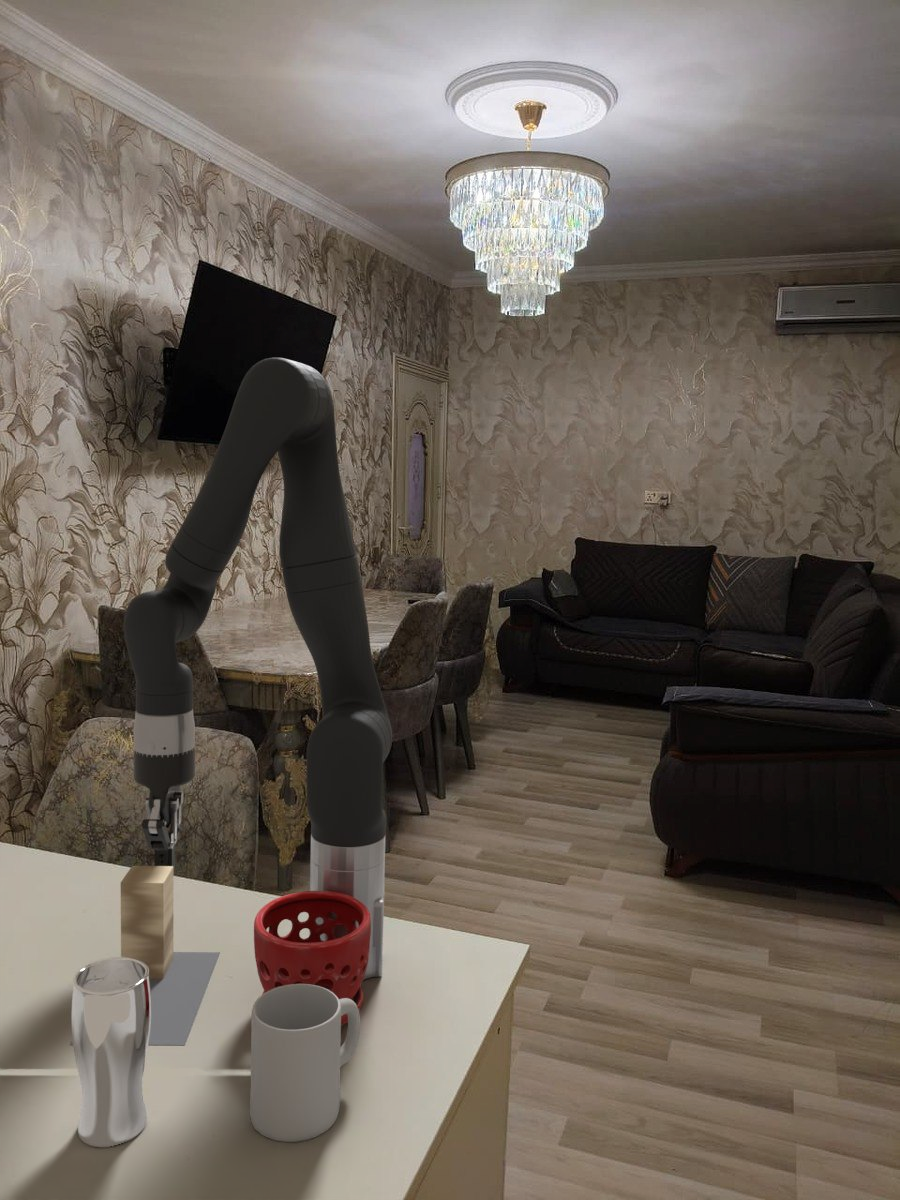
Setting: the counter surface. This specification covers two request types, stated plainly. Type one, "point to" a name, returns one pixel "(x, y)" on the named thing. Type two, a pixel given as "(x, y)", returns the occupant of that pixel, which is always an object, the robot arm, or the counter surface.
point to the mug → (298, 1060)
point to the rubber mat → (179, 996)
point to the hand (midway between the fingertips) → (164, 873)
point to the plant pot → (314, 944)
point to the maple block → (148, 917)
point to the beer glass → (111, 1048)
